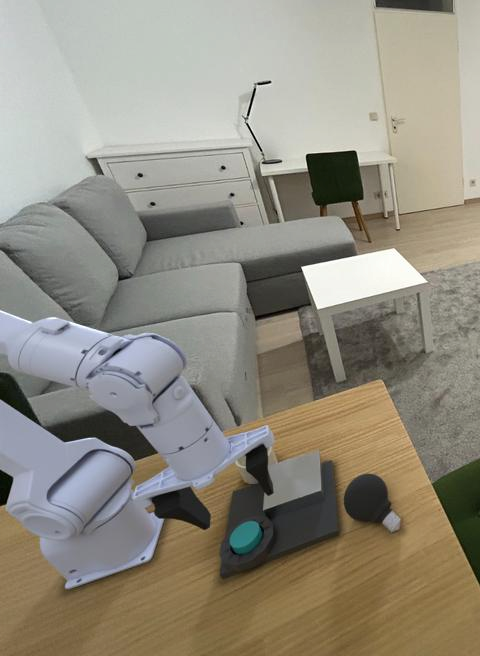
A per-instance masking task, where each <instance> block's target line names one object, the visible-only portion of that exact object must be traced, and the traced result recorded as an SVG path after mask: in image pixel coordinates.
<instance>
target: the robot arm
mask: <svg viewBox="0 0 480 656" xmlns="http://www.w3.org/2000/svg"><path fill="white" fill-rule="evenodd" d="M0 355H5V356H7V361H8V363H9V366H10V367H11V368H12V369H13V370H14V371H16V372H19V373H23V374H26V375H29V376H33V377H38V378H40V379H43V380H44V379H45V380H49V381H52V382H55V383H59V384H62V385H67V386H70V387H74V388H77V389H81V390H85V391H88V392H89V393H90V394H89V395H88V397H89V399H90V400H92V401H93V402H94V403H95V404H97V405H98V406H99V407H101V408H103V409H105V410H107V411H110V412H112V413H113V414H115V415H116V416H117V417H119V419H120V420H121V421H122V422H123V423H124V424H127V425H128V426H129V427H133V426H134V427H136V428H137V429H138V430H139V432H140V433H141V434H142V435H143V436H144V438H145V439H146V440H147V441H148V442H149V443H150V445H151V446H152V447H153V448H154V450H155V451H156V452H157V453H158V455H159V456H160V457H162V459H163V460H164V462H165V463H166V464H167V465H168V467H167V468H165V469H164V470H162V471H160V472H159V473H157V474H155V475H154V476H153V477H151V478H149V479H147V480H145V482H142V483H140V484H138V485H136V486H135V489H134V491H133V489H132V487H133V486H134V484H135V481H134V479H133V478H132V476H133V475H134V474H135V472H136V471H137V464H136V461H135V459H134V458H133V457H132V455H131V454H130V453H128V452H127V451H125V450H124V449H122V448H119V447H117V446H112V445H110V444H108V443H106V442H104V441H102V440H101V439H99V438H97V437H87V438H82V439H76V440H72V441H66V442H64V441H63V440H61V439H60V438H59V437H57V436H55V435H54V434H52V433H51V432H50V431H48V430H46V429H45V428H43V427H42V426H41V425H39V424H37V423H36V422H35V421H33V420H32V419H30V418H28V417H27V416H26V415H24V414H22V413H21V412H20V411H18V410H17V409H15V408H14V407H12V406H11V405H9V404H8V403H6V402H5V401H4V400H2V399H0V470H1V471H2V472H3V473H6V474H7V475H9V476H10V477H12V484H11V488H10V491H9V495H8V498H7V501H6V505H5V512H7V513H8V514H9V515H10V516H11V517H13V518H14V519H16V520H17V521H18V522H19V523H21V524H22V526H23V528H25V530H27V531H28V532H29V533H31V534H33V535H35V536H37V537H39V547H40V553H41V555H42V556H43V557H44V559H45V560H46V561H47V562H48V563H49V564H50V565H51V566H52V567H53V568H54V569H55V570H56V572H58V573H59V574H60V575H61V577H63V578H64V579H65V580H66V582H65V585H64V588H65V590H71V589H74V588H76V587H80V586H82V585H86V584H88V583H91V582H93V581H97V580H100V579H103V578H106V577H108V576H111V575H114V574H117V573H119V572H120V573H121V572H122V571H125V570H129V569H131V568H134V567H137V566H140V565H143V564H145V563H149V562H150V561H151V560H152V559H153V557H154V553H155V551H156V548H157V544H158V541H159V537H160V534H161V531H162V528H163V525H164V521H165V520H166V519H167V520H176V521H182V522H185V523H187V524H190V525H193V526H195V527H197V528H199V529H201V530H203V531H206V530H208V529H210V528H211V519H212V518H211V517H212V515H211V513H210V511H209V509H208V508H207V507H206V505H205V504H204V503H203V502H202V501H201V500H200V499H199V498H198V496H197V495H196V494H195V492H194V490H195V491H199V490H202V489H203V488H205V487H208V486H209V485H211V484H212V483H214V482H215V481H216V478H217V475H218V474H220V473H221V472H223V471H224V470H225V469H227V468H228V467H230V466H231V465H233V464H234V463H235V461H237V460H238V459H239V458H241V457H243V456H246V471H247V472H248V473H249V474H251V475H252V476H253V477H254V478H255V479H256V480H257V481H258V482H259V484H260V485H261V487H262V489H263V490H264V492H265V493H266V495H267V496H270V495H272V494H273V493H274V491H273V483H272V480H271V478H270V475H269V471H268V450H267V448H268V447H270V446H272V447H273V446H274V445H275V444H276V443H275V436H274V433H273V431H272V430H271V428H270V427H269V425H268V424H266V425H263V426H261V427H259V428H256V429H254V430H253V429H252V430H249V431H245V432H242V433H237V434H234V435H229V436H225V434H224V433H223V432H222V430H221V429H220V427H219V426H218V424H217V423H216V421H215V420H214V419H213V417H212V415H211V414H210V413H209V411H208V410H207V408H206V406H204V404H203V403H202V401H201V400H200V399H199V397H198V395H197V394H196V393H195V391H194V389H193V388H192V387H191V385H190V384H189V383H188V381H187V379H186V378H185V376H184V375H183V374H182V373H183V372H184V371H185V369H186V368H187V365H188V359H187V356H186V353H185V352H184V350H183V349H182V348H181V347H180V346H179V345H178V344H176V343H175V342H174V341H172V340H171V339H169V338H166V337H164V336H162V335H160V334H158V333H155V332H154V333H153V332H144V333H140V334H137V335H135V334H130V333H128V334H124V335H123V336H119V335H115V334H112V333H109V332H106V331H103V330H99V329H95V328H92V327H89V326H85V325H82V324H79V323H75V322H72V321H69V320H66V319H63V318H60V317H46V318H42V319H39V320H36V321H34V322H32V321H30V320H27V319H24V318H21V317H19V316H17V315H14V314H12V313H8V312H7V311H4V310H1V309H0ZM192 487H193V488H192ZM193 489H194V490H193ZM152 504H153V506H154V511H153V512H150V513H149V512H148V511H147V509H146V508H148V507H150V506H152Z"/></svg>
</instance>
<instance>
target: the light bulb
mask: <svg viewBox="0 0 480 656" xmlns="http://www.w3.org/2000/svg"><path fill="white" fill-rule="evenodd" d="M391 505H392V501H391V500H389V491H388V486H387V484H386V482H385V481H384V480H383V478H381V476H379V475H377V474H375V473H363V474H360V475H358V476H356V477H355V478H353V479H352V480H351V481H350V482H349V484H348V485H347V487H346V489H345V492H344V493H343V506H344V510H345V512H346V513H347V515H348V516H349V517H350V519H353V520H354V521H357V522H372V524H377V523H378V522H379V523H380V524H382V525H383V526H384V527H385V528H386V529H387V530H388V531H389V532H390V533H391V534H392V533H395V532H396V531H398V530H400V527H401V524H402V523H401V522H402V518H400V517H399V516H398V515H397V513H395V512H394V510H392V508H391Z"/></svg>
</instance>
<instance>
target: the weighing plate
mask: <svg viewBox="0 0 480 656" xmlns="http://www.w3.org/2000/svg"><path fill="white" fill-rule="evenodd" d="M323 462H324V461H323V459H322V455H321V452H320V449H318V450H315V451H311V452H308V453H305V454H302V455H298V456H295V457H292V458H288V459H285V460H283V461H278V463H275V464H272V465H269V466H268V471H269V475H270V478H271V480H272V483H273V491H274V493H273V494H272V495H270V496H267V495H266V493H265V492H264V504H263V511H264V513H265V515H266V517H268V518H269V520H271V519H274V518H277V517H280V516H283V515H285V514H288V513H291V512H294V511H297V510H300V509H303V508H306V507H308V506H311V505H314V504H317V503H320V502H323V501H325V495H324V479H323Z"/></svg>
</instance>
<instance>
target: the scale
mask: <svg viewBox="0 0 480 656" xmlns="http://www.w3.org/2000/svg"><path fill="white" fill-rule="evenodd" d="M334 468H335V467H334V463H333V460H332V459H329V460H326V461H323V479H324V495H325V501H323V502H320V503H317V504H314V505H311V506H308V507H306V508H303V509H300V510H297V511H294V512H291V513H288V514H285V515H283V516H280V517H277V518H274V519H271V520H269V518H268V517H266V515H265V513H264V511H263V504H264V490H263V489H262V487H261V485H260V484H259V483H257V484H250V485H248V486H245V487H243V488H238V489H235V490H233V491H232V495H231V500H230V508H229V513H228V519H227V525H226V532H225V537H224V538H223V540H222V541H221V544H220V547H219V548H220V549H219V557H220V559H221V561H220V567H219V576H220V578H221V580H226V579H228V578H231V577H233V576H236V575H239V574H242V573H244V572H247V571H249V570H252V569H254V568H258V567H261V566H263V565H266V564H268V563H271V562H273V561H276V560H278V559H281V558H283V557H286V556H289V555H292V554H294V553H297V552H300V551H302V550H305V549H307V548H310V547H313V546H315V545H318V544H320V543H321V544H322V543H323V542H326V541H329V540H331V539H335V538H336V537H339V536H340V525H339V514H338V513H339V512H338V503H337V492H336V491H337V490H336V481H335V471H334V470H335V469H334ZM249 521H254V522H256V523H258V525H259V527H260V529H261V531H262V539H261V541H260V543H259V544H258V545H257V546H256V547H255V548H254V549H253V550H252V551H250V552H248V553H245V554H237V553H235V552H234V550H233V548H232V546H231V545H230V537H231V534H232V533H233V531H234V530H235V529H236V528H237V527H238V526H240V525H241V524H243V523H245V522H249Z"/></svg>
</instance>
